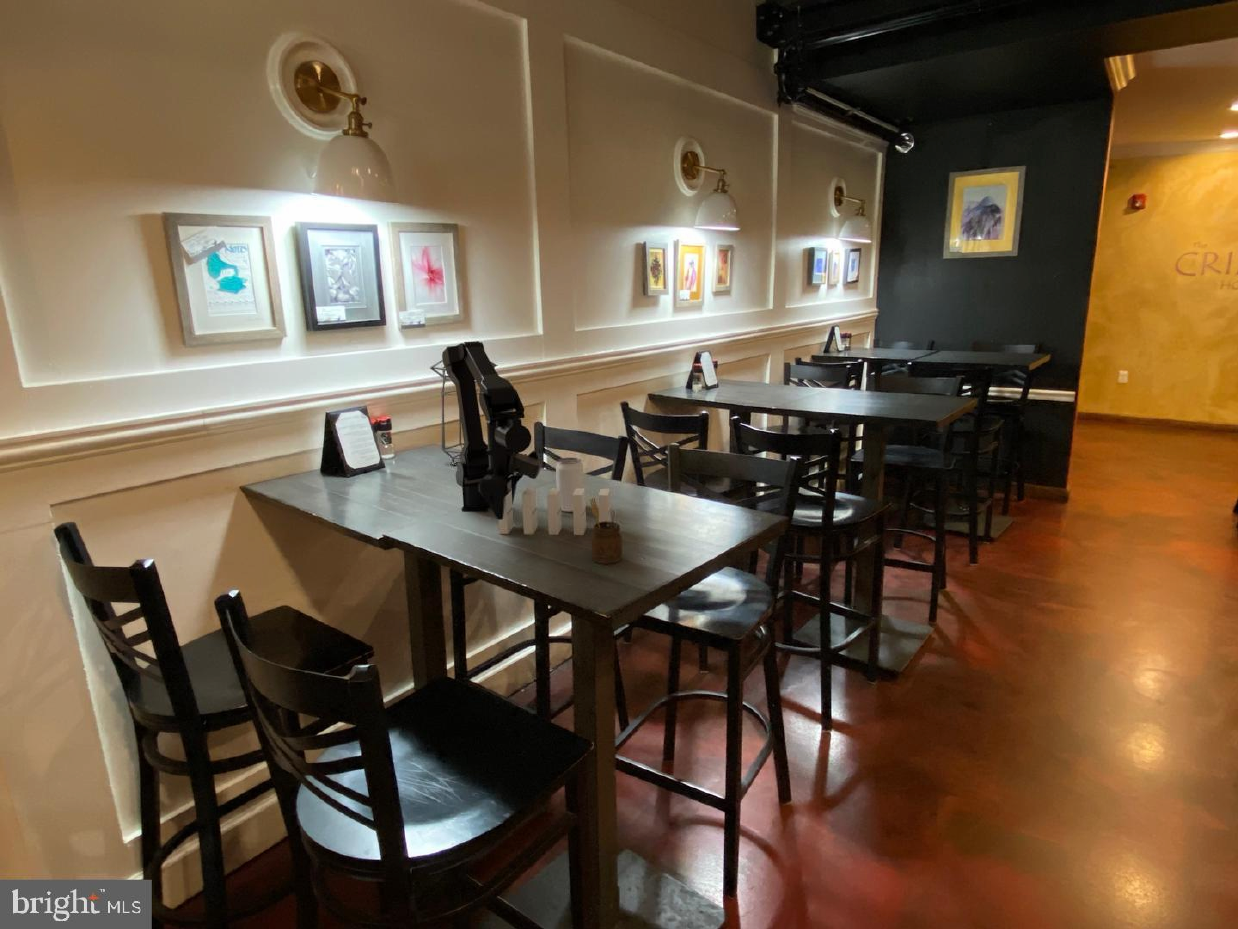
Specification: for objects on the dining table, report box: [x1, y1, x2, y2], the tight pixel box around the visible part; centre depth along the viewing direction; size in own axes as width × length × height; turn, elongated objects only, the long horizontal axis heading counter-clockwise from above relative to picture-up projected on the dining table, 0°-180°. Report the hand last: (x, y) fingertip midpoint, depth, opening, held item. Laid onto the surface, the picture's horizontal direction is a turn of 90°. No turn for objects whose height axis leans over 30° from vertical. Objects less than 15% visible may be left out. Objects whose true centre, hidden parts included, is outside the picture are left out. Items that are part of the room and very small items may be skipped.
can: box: [555, 457, 585, 513], centre depth 171 cm, size 6×6×12 cm
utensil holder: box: [589, 497, 623, 565], centre depth 139 cm, size 6×6×12 cm
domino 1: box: [497, 488, 514, 535], centre depth 157 cm, size 2×5×9 cm, turn 175°
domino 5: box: [597, 488, 612, 522], centre depth 155 cm, size 2×5×9 cm, turn 175°
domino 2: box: [521, 487, 538, 535], centre depth 156 cm, size 2×5×9 cm, turn 175°
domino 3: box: [546, 487, 563, 536], centre depth 156 cm, size 2×5×9 cm, turn 175°
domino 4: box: [572, 488, 587, 536], centre depth 155 cm, size 2×5×9 cm, turn 175°
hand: (505, 512), depth 157 cm, fingers open, 9 cm apart
